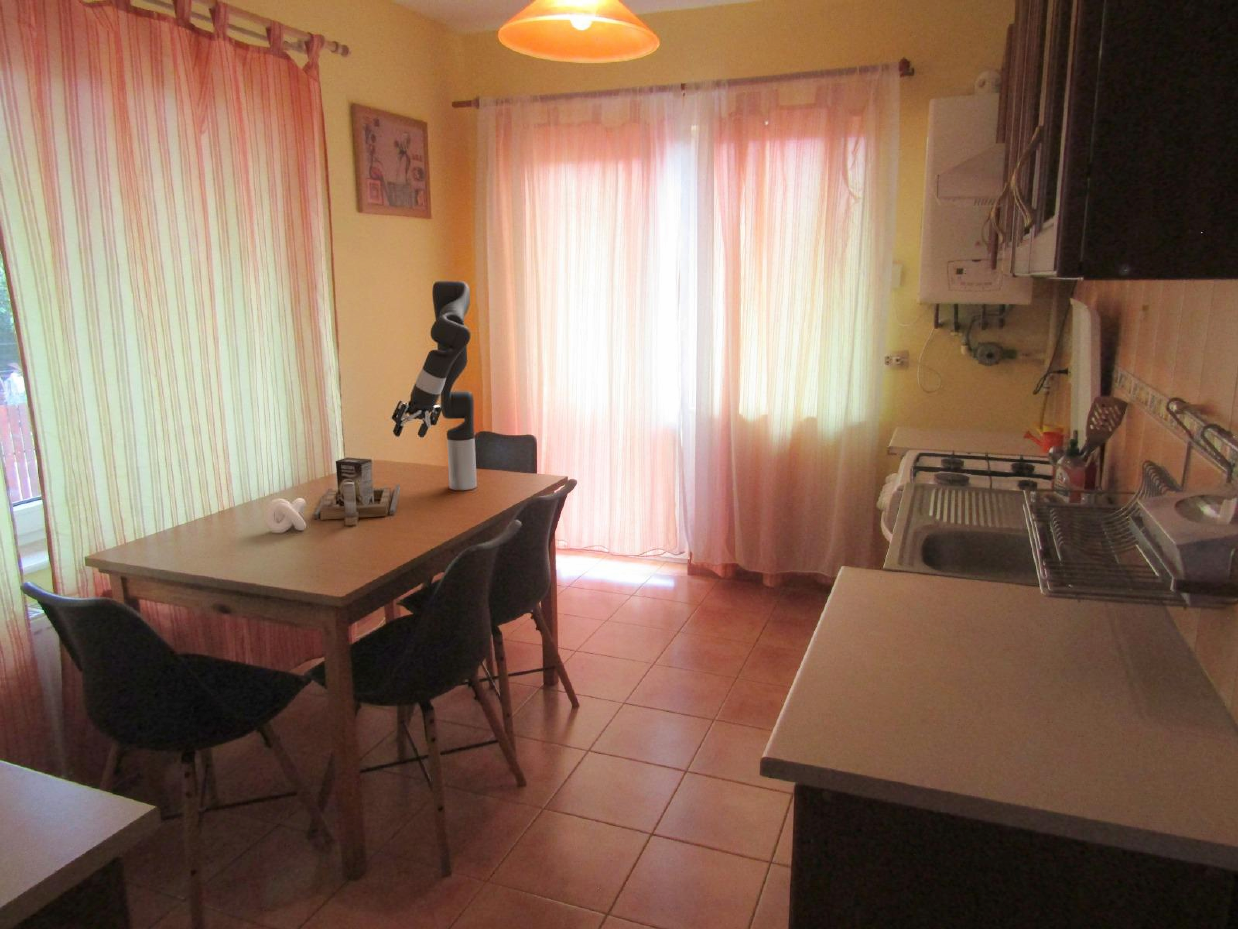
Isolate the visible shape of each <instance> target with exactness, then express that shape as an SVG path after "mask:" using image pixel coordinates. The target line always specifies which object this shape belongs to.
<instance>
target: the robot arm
mask: <svg viewBox="0 0 1238 929" xmlns="http://www.w3.org/2000/svg"><path fill="white" fill-rule="evenodd" d="M431 295H432V303H433V310H434V317H435V320H434V323H433V324H432V326H431V329H430V332H429V333H430V337H431V340H433V342H434V343H437V349H432V350H429V352H428V353H427V356H426V359H425V361H424V363H423V366H422V368H421V370H420V371H419V373H418V375H417V378H416V380H415V383H414V385H413V388H412V389H411V392H410V396H409V397H410V399H409V401H408V402H403V400H400V401H398V402H397V405H396V407H395V409H394V411H393V414H392V415H391V420H392V421H393V422H394V423H395V425H394V427H393V430H392V432H393V435H394V436H395V437H397V438H399V437H400V435H401V434H402V431H403V429H404V425H405V424H406V423H409V422H411V421H412V420H422V422H421V424H420V426H419V429H418V431H417V435H418V437H419V438H421V439H422V438H424V437H425V436H426V435H427V432H428V431H429V428H430V427H431V426H436V425H437V424H438V421H439V419H440V415H442V417H444V419H447V420H454V419H455V420H458V419H459V420H460V419H464V420H463V422H461V423H460V424H459V425H457V426H454V427H452V428H449V429H448V430H447V431H446V443H447V444H446V447H447V460H448V462H447V463H448V482H449V484H448V485H449V489H450V490H454V491H468V490H473V489H476V488H477V483H478V482H477V463H476V461H477V460H476V459H477V458H476V442H475V440H476V438H475V425H474V421H475V420H474V417H475V416H474V415H475V414H474V412H475V406H474V405H475V404H474V403H475V401H474V399H475V398H474V395H473V393H472V392H471V391H470V390H458V391H457V390H456V391H455V390H453V391H452V389H453V386H454V385H455V383H456V381H457V379H458V378H459V377H460V376H461V375H462V373H463V372H464V370H465V368H466V367H467V364H468V344H469V343H470V341H471V331H470V329H469V328H468V327H467V326H466V325H465V316H466V315H467V313H468V311H469V308H470V302H471V296H470V287H469V285H468V284H467V282H465V281H461V280H440V281H439V280H438V281H434V284H433V285H432V294H431ZM439 398H440V405H439V403H438V401H439Z"/></svg>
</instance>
